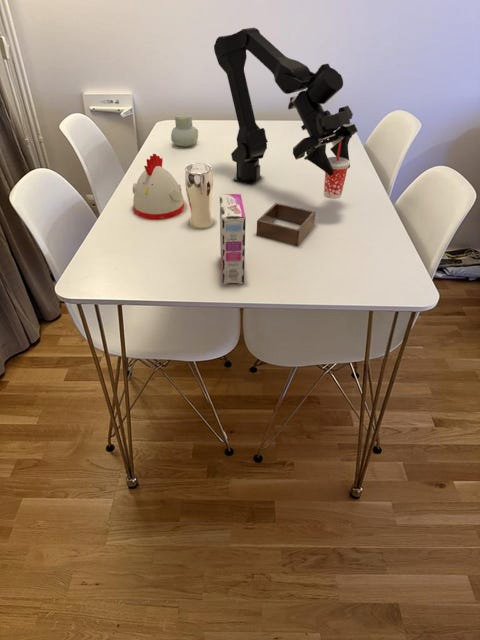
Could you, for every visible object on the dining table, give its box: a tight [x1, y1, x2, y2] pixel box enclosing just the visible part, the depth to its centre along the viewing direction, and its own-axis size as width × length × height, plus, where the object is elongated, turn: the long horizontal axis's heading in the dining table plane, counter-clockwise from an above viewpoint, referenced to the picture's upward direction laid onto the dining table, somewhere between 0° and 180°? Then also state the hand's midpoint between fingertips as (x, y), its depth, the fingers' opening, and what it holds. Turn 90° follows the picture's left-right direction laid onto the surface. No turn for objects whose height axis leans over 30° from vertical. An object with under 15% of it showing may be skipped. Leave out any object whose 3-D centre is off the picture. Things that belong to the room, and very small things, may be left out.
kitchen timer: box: [132, 153, 185, 221], centre depth 124 cm, size 14×14×15 cm
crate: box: [256, 202, 317, 247], centre depth 118 cm, size 11×11×4 cm
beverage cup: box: [323, 141, 351, 200], centre depth 116 cm, size 6×6×14 cm
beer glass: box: [184, 162, 214, 230], centre depth 118 cm, size 7×7×15 cm
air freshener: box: [170, 112, 199, 147], centre depth 164 cm, size 11×8×10 cm
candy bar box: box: [219, 193, 247, 286], centre depth 100 cm, size 11×5×16 cm, turn 5°
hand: (340, 171), depth 116 cm, fingers closed on beverage cup, 6 cm apart
